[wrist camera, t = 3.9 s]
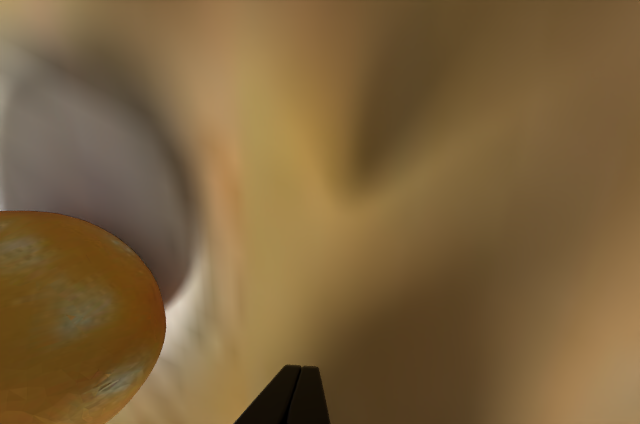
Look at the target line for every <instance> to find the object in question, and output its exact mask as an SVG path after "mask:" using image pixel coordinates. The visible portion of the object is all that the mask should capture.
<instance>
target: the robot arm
mask: <svg viewBox="0 0 640 424" xmlns="http://www.w3.org/2000/svg"><path fill="white" fill-rule="evenodd" d="M234 424H331V423H330V419H329V414H328V409H327V404H326V400H325V395H324V390H323V385H322V381H321V376H320V371H319V368H318V367H316V366H303V367H301V366H300V365H285V366H284V367H283V368H282V369H281V370H280V372H279V373H278V374H277V375H276V376H275V377H274V378H273V379H272V381H271V382H270V383H269V384H268V385H267V386H266V387H265V389H264V390H263V391H262V392H261V393H260V394H259V395H258V396H257V398H256V399H255V400H254V401H253V402H252V403H251V404H250V406H249V407H248V408H247V409H246V410H245V411H244V412H243V413H242V415H241V416H240V417H239V418H238V419H237V420H236V421H235V423H234Z"/></svg>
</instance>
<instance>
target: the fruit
mask: <svg viewBox="0 0 640 424" xmlns="http://www.w3.org/2000/svg"><path fill="white" fill-rule="evenodd" d="M165 332H166V316H165V310H164V305H163V301H162V297H161V293H160V289H159V287H158V285H157V283H156V280H155V278H154V277H153V275H152V273H151V271H150V270H149V269H148V267H147V266H146V265H145V264H144V262H143V261H142V260H141V258H140V257H139V256H138V255H137V254H136V253H135V252H134V251H133V250H132V249H131V248H130V247H128V246H127V245H126V244H125V243H124V242H122V241H121V240H120V239H119V238H117V237H116V236H114V235H112V234H110V233H109V232H107V231H105V230H104V229H102V228H100V227H98V226H96V225H93V224H91V223H89V222H86V221H84V220H81V219H78V218H74V217H70V216H66V215H62V214H57V213H50V212H38V211H0V424H105V423H106V422H108V421H109V420H110V419H112V418H113V417H114V416H115V415H116V414H118V413H119V411H120V410H121V409H122V408H123V407H124V406H125V405H126V404H127V403H128V402H129V401H130V400H131V399H132V397H133V396H134V395H135V394H136V392H137V391H138V390H139V389H140V387H141V386H142V385H143V383H144V382H145V381H146V379H147V377H148V376H149V374H150V373H151V371H152V369H153V368H154V366H155V364H156V362H157V360H158V358H159V355H160V352H161V350H162V347H163V343H164V339H165Z"/></svg>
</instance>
